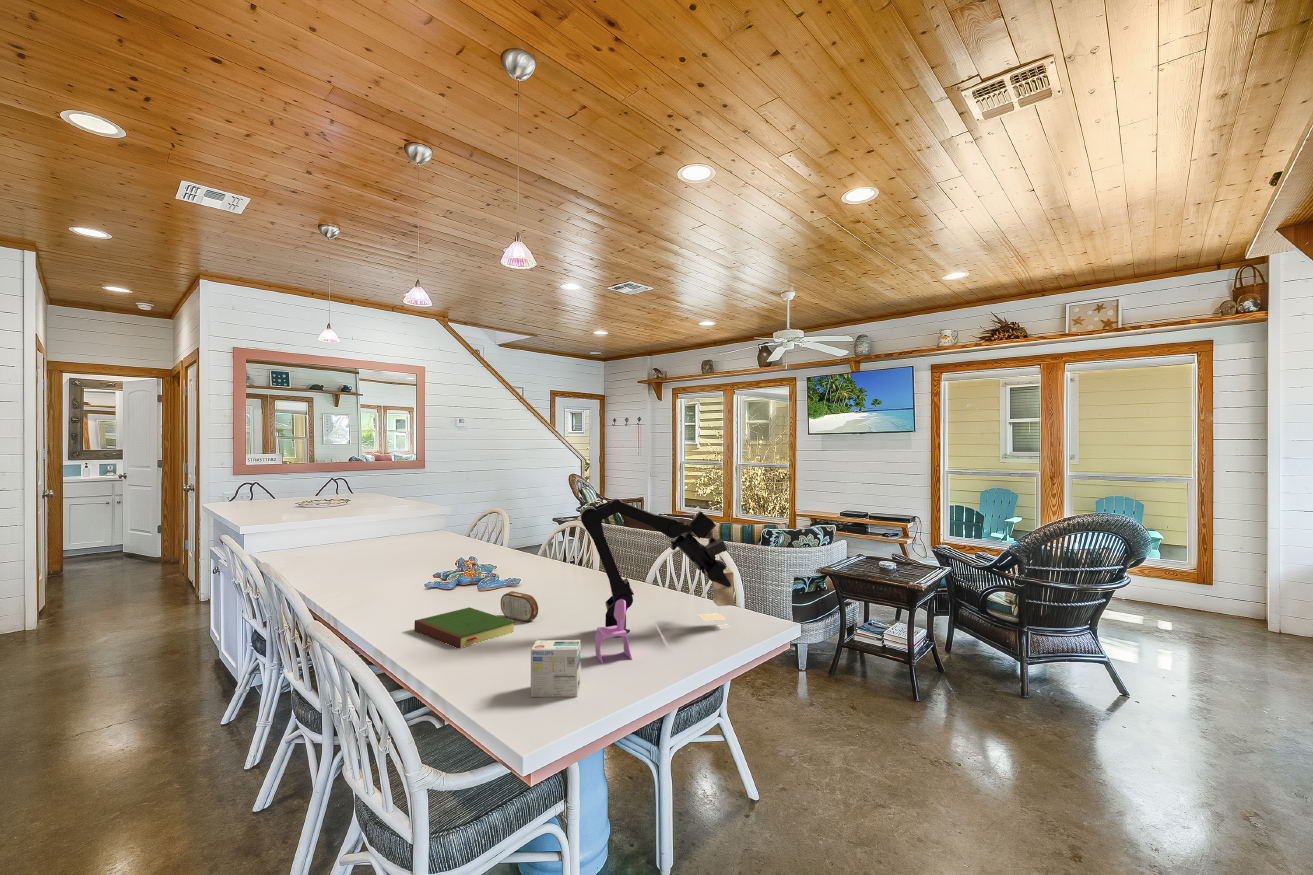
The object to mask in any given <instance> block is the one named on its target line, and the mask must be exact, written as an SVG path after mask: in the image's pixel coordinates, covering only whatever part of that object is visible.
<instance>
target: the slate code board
mask: <svg viewBox="0 0 1313 875" xmlns="http://www.w3.org/2000/svg"><path fill="white" fill-rule="evenodd" d="M696 615H697V616H698V617H699V618H700V619H702V620H703V621H704V622H710V621H711V622H712V621H723V620H727V618H726V617H725V616H723V615H722V614H720V613H719V612H712V613H700V614H698V613H697V614H696ZM726 626H728V628H731V626H729V625H728V623H724V624H718V625H716V627H718V628H719V629H723V628H726Z"/></svg>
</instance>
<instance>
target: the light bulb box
mask: <svg viewBox="0 0 1313 875" xmlns="http://www.w3.org/2000/svg"><path fill="white" fill-rule="evenodd" d="M580 688H581V639H563V640H562V639H558V640H556V639H555V640H539V639H538V640H535V642H534V644H533V646H532V648H531V650H530V698H550V697H551V698H556V697H557V698H558V697H559V698H561V697H564V698H566V697H567V698H568V697H571V698H572V697H578V695H579V691H580Z"/></svg>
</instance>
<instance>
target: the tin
mask: <svg viewBox="0 0 1313 875" xmlns="http://www.w3.org/2000/svg"><path fill="white" fill-rule="evenodd" d="M500 610H501V612H502V614H503V615H504V616H505V617H506V618H509V619H511V618H512V619H511V620H517V621H520V622H524V623H526V622H527V623H529V622H530V621H533V620H535V619H536V618H537V617H538V614H539V605H538V602H537V601H536V598H534V596H532V595H531V594H526V593H523V592H518V591H514V590H510V591H508V592H506V593H504V594H503V595H502V596H501V598H500Z"/></svg>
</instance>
